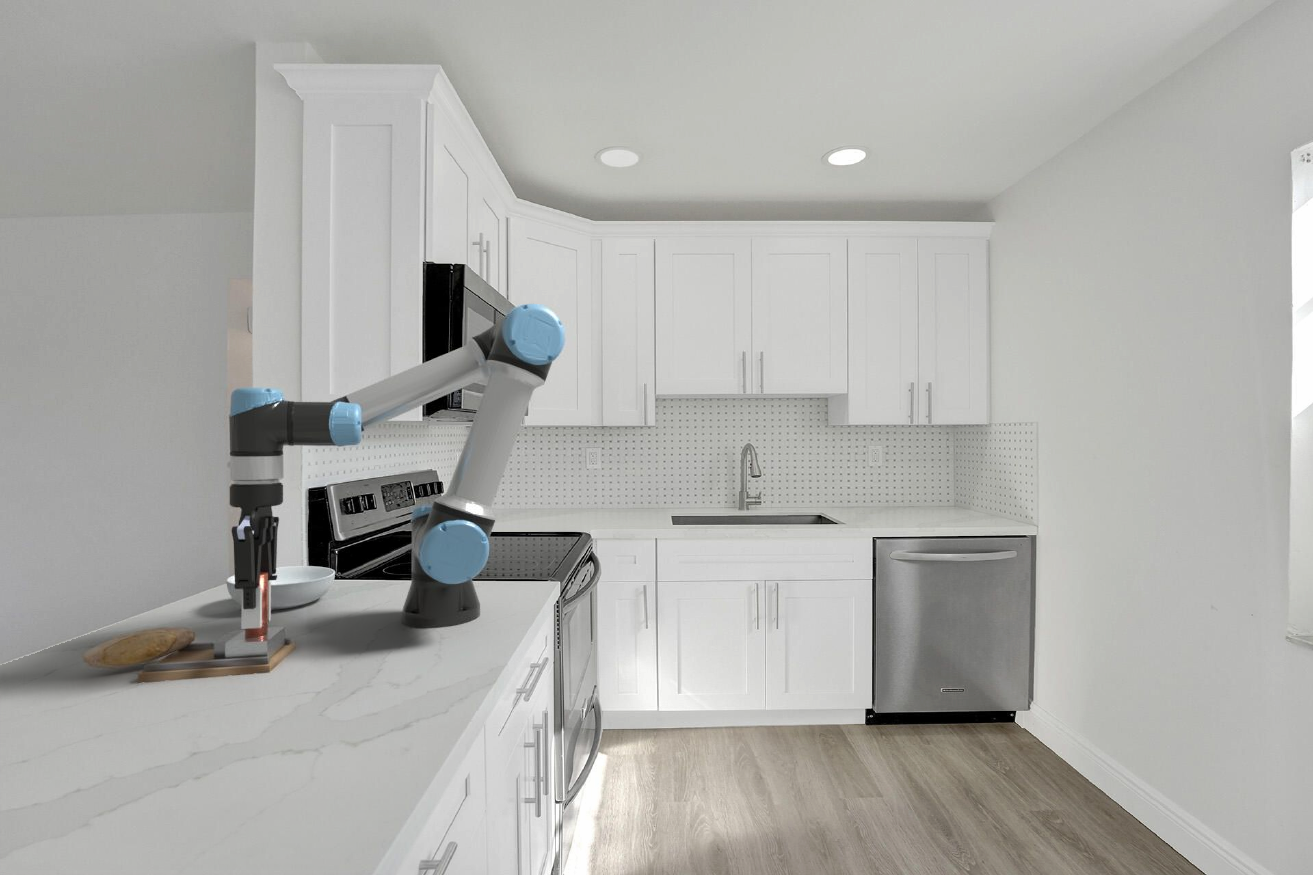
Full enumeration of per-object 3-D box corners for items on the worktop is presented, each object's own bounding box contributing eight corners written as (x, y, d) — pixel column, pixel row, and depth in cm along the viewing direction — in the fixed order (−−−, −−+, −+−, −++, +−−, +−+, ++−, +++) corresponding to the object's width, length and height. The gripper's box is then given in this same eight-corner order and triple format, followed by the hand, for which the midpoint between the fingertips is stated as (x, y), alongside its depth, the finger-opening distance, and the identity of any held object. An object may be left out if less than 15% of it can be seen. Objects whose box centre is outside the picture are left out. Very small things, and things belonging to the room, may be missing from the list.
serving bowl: (303, 618, 133) (303, 585, 133) (202, 618, 133) (202, 584, 133) (352, 594, 154) (352, 565, 154) (265, 593, 154) (265, 564, 154)
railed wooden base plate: (295, 650, 113) (295, 636, 113) (269, 675, 101) (269, 659, 101) (178, 657, 109) (178, 642, 109) (138, 683, 97) (138, 667, 97)
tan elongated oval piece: (192, 618, 107) (192, 618, 110) (78, 644, 98) (82, 644, 102) (197, 650, 106) (196, 649, 110) (83, 679, 98) (86, 677, 101)
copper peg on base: (284, 644, 111) (285, 568, 111) (267, 659, 103) (267, 578, 103) (233, 647, 109) (233, 570, 109) (211, 663, 101) (211, 580, 101)
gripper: (251, 479, 113) (251, 612, 113) (208, 485, 98) (207, 640, 98) (298, 478, 115) (297, 610, 115) (262, 485, 99) (262, 637, 99)
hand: (256, 623), depth 106 cm, fingers closed on copper peg on base, 3 cm apart
